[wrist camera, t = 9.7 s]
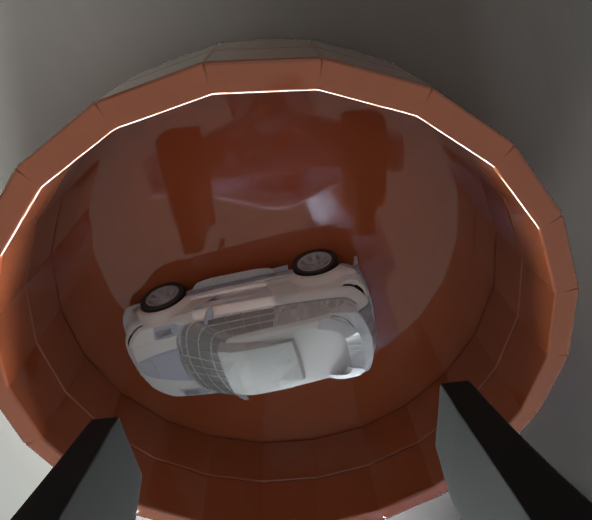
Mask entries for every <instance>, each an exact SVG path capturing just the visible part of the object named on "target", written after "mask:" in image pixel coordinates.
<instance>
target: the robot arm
mask: <svg viewBox="0 0 592 520" xmlns="http://www.w3.org/2000/svg"><path fill="white" fill-rule="evenodd" d="M435 446H436V449H437V453H438V456H439V460H440V464H441V467H442V471H443V474H444V478H445V481H446V484H447V488H448V491H449V494H450V496H451V499H452V501H453V504H454V506H455V509H456V511H457V514H458V516H459V519H460V520H592V503H591V502H590V501H589V500H588V499H587V498H586V497H585V496H584V495H582V494H581V493H580V492H579V491H578V490H577V489H576V488H575V487H574V486H572V485H571V484H570V483H569V482H568V481H567V480H566V479H565V478H564V477H563V476H562V475H560V474H559V473H558V472H557V471H556V470H555V469H554V468H553V467H552V466H551V465H550V464H549V463H548V462H547V461H546V460H545V459H544V458H543V457H542V456H541V455H540V454H539V453H538V452H537V451H536V450H535V449H534V448H533V447H531V446H530V445H529V444H528V443H527V442H526V441H525V440H524V439H523V438H522V437H521V436H520V434H519V433H518V432H517V431H516V430H515V429H514V428H513V427H512V426H511V425H510V424H509V423H508V422H507V421H506V420H505V419H504V418H503V417H502V416H501V415H500V414H499V413H498V412H497V410H496V409H495V408H494V407H493V406H492V405H491V404H490V403H489V402H488V401H487V400H486V399H485V397H484V396H483V395H482V394H481V393H480V392H479V391H478V390H477V389H476V388H475V386H474V385H473V384H472V383H470V382H469V381H468V380H467V381H457V382H447V383H440V394H439V406H438V418H437V430H436V441H435ZM141 480H142V473H141V471H140V468H139V466H138V463H137V461H136V458H135V456H134V453H133V451H132V448H131V446H130V444H129V441H128V439H127V436H126V434H125V431H124V429H123V426H122V424H121V421H120V419H119V417H111V418H101V419H92V420H91V421H90V422H89V423H88V424H87V426H86V427H85V428H84V429H83V431H82V432H81V433H80V434H79V436H78V437H77V438H76V439H75V441H74V442H73V443H72V444H71V446H70V447H69V448H68V449H67V451H66V452H65V453H64V454H63V456H62V457H61V458H60V460H59V461H58V462H57V463H56V465H55V466H54V467H53V468H52V470H51V471H50V472H49V473H48V475H47V476H46V477H45V478H44V480H43V481H42V482H41V483H40V485H39V486H38V487H37V488H36V489H35V491H34V492H33V493H32V494H31V495H30V497H29V498H28V499H27V500H26V502H25V503H24V504H23V505H22V506H21V508H20V509H19V510H18V511H17V513H16V514H15V515H14V516H13V517H12V518H11V520H135V519H136V513H137V507H138V501H139V494H140V487H141Z"/></svg>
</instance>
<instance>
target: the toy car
mask: <svg viewBox="0 0 592 520" xmlns="http://www.w3.org/2000/svg"><path fill="white" fill-rule="evenodd" d="M370 294H371V292H370V289H369V287H368V286H367V283H366V280H365V278H364V276H363V274H362V272H361V270H360V269H359V263H358V260H357V256H354V262H353V265H349V264H346V263H340V264H339V263H338V258H337V255H336V254H335V253H334V252H333V251H331V250H327V249H316V250H311V251H308V252H305V253H303V254H301V255H299V256H298V257H297V258H296V259H295V260H294V261H293V263H292V269H290V270H289V269H288V266H287V265H285V266H281V267H277V268H273V269H270V268H260V269H252V270H247V271H242V272H237V273H232V274H228V275H223V276H218V277H213V278H209V279H206V280H203V281H200V282H198V283H196V284H195V286H194V288H193V289H192V290H189V291H186V290H185V288H184V286H183V285H182V284H180V283H175V282H173V283H166V284H162V285H160V286H157V287H155V288H153V289H152V290H150V291H149V292H147V293H146V294H145V295H144V296H143V298H142V299H141V302H140V303H139V304H135V305H133V306H130V307H129V308H127V309H126V311H125V312H124V315H123V326H124V330H125V333H126V339H125V342H126V347H127V350H128V354H129V355H130V357H131V359H132V361H133V363H134V365H135V366H136V369H137V370H138V371H139V373H140V375H141V376H143V378H144V379H145V380H146V381H147V382H148V383H149V384H150V385H151V386H152V387H153V388H155V389H156V390H158V391H160V392H163V393H165V394H168V395H171V396H194V395H204V394H213V393H223V394H234V395H238V396H239V397H240V398H242V399H244V400H249V398H248V396H247V395H258V394H263V393H269V392H274V391H279V390H284V389H288V388H293V387H295V386H299V385H303V384H307V383H311V382H315V381H319V380H322V379H326V378H336V379H346V378H351V377H356V376H359V375H361V374H362V373H364V372H366V371H368V370H369V369H370V368H371V365H372V361H373V355H374V351H375V348H376V338H377V337H376V331H375V320H376V319H375V316H374V311H375V310H374V308H373V303H372V299H373V298H372V299H371V295H370ZM348 372H349V373H348ZM345 373H348V374H345ZM340 374H341V375H340Z"/></svg>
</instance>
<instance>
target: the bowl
mask: <svg viewBox="0 0 592 520" xmlns="http://www.w3.org/2000/svg"><path fill="white" fill-rule="evenodd" d="M316 249H327V250H331V251H333V252H334V253H335V254H336V255H337V258H338V263H339V264H340V263H346V264H349V265H353V262H354V256H357V260H358V263H359V269H360V270H361V272H362V274H363V276H364V278H365V280H366V283H367V286H368V287H369V289H370V292H371V294H370V295H371V299H372V298H373V299H372V303H373V308H374V310H375V311H374V316H375V319H376V320H375V331H376V337H377V338H376V348H375V351H374V355H373V361H372V365H371V368H370V369H369V370H368V371H366V372H364V373H362V374H361V375H359V376H356V377H351V378H346V379H336V378H326V379H322V380H319V381H315V382H311V383H307V384H303V385H299V386H295V387H293V388H288V389H284V390H279V391H274V392H269V393H263V394H258V395H247V396H248V398H249V400H244V399H242V398H240V397H239V396H238V395H234V394H223V393H213V394H204V395H194V396H171V395H168V394H165V393H163V392H160V391H158V390H156V389H155V388H153V387H152V386H151V385H150V384H149V383H148V382H147V381H146V380H145V379H144V378H143V376H141V375H140V373H139V371H138V370H137V369H136V366H135V365H134V363H133V361H132V359H131V357H130V355H129V354H128V350H127V347H126V342H125V339H126V333H125V330H124V326H123V315H124V312H125V311H126V309H127V308H129V307H130V306H133V305H135V304H139V303H140V302H141V299H142V298H143V296H144V295H145V294H146V293H147V292H149V291H150V290H152V289H153V288H155V287H157V286H160V285H162V284H166V283H173V282H175V283H180V284H182V285H183V286H184V288H185V290H186V291H189V290H192V289H193V288H194V286H195V284H196V283H198V282H200V281H203V280H206V279H209V278H213V277H218V276H223V275H228V274H232V273H237V272H242V271H247V270H252V269H260V268H270V269H273V268H277V267H281V266H285V265H287V266H288V269H289V270H290V269H292V263H293V261H294V260H295V259H296V258H297V257H298V256H299V255H301V254H303V253H305V252H308V251H311V250H316ZM578 292H579V289H578V281H577V277H576V272H575V268H574V263H573V258H572V254H571V249H570V245H569V240H568V236H567V231H566V227H565V222H564V218H563V216H562V213H561V211H560V209H559V208H558V206H557V205H556V203H555V202H554V200H553V199H552V198H551V196H550V195H549V193H548V192H547V190H546V189H545V187H544V186H543V184H542V183H541V182H540V180H539V179H538V177H537V176H536V174H535V173H534V171H533V170H532V169H531V167H530V166H529V164H528V163H527V161H526V160H525V158H524V157H523V155H522V154H521V153H520V151H519V150H518V148H517V147H516V146H515V145H514V144H513V142H511V141H510V140H509V139H507V138H506V137H504V136H503V135H501V134H500V133H498V132H497V131H495V130H494V129H493V128H491V127H490V126H488V125H487V124H485V123H484V122H482V121H481V120H479V119H478V118H477V117H475V116H474V115H472V114H471V113H469V112H468V111H466V110H465V109H464V108H462V107H461V106H459V105H458V104H456V103H455V102H453V101H452V100H450V99H449V98H448V97H446V96H445V95H443V94H442V93H440V92H439V91H437V90H436V89H434V88H433V87H431V86H430V85H428V84H426V83H425V82H423V81H421V80H420V79H418V78H416V77H415V76H413V75H411V74H410V73H408V72H406V71H405V70H403V69H402V68H400V67H398V66H397V65H395V64H392V63H391V62H388V61H385V60H381V59H378V58H374V57H371V56H368V55H366V54H363V53H359V52H356V51H352V50H349V49H345V48H341V47H338V46H334V45H330V44H326V43H321V42H318V41H314V40H307V39H297V40H294V39H263V40H246V41H240V42H222V43H220V44H214V45H212V46H209V47H206V48H204V49H201V50H198V51H195V52H192V53H189V54H186V55H183V56H179V57H176V58H174V59H172V60H170V61H168V62H166V63H163V64H161V65H158V66H155V67H153V68H150V69H147V70H145V71H142V72H140V73H138V74H136V75H135V76H133V77H131V78H130V79H128V80H127V81H125V82H124V83H122V84H121V85H119V86H118V87H116V88H115V89H113V90H111V91H110V92H108V93H107V94H105V95H104V96H102V97H101V98H99V99H98V100H96V101H95V102H93V103H92V104H91V105H89V106H88V107H87V108H86V109H84V110H83V111H82V112H81V113H80V114H78V115H77V116H76V117H75V118H74V119H72V120H71V121H70V122H69V123H68V124H66V125H65V126H64V127H63V128H62V129H60V130H59V131H58V132H57V133H56V134H54V135H53V136H52V137H51V138H50V139H48V140H47V141H46V142H45V143H44V144H42V145H41V146H40V147H39V148H37V149H36V150H35V151H34V152H33V153H31V154H30V155H29V156H28V157H27V158H25V159H24V160H23V161H22V162H21V163H19V164H18V165H17V168H15V169H14V171H13V173H12V175H11V177H10V178H9V180H8V182H7V184H6V186H5V188H4V189H3V191H2V193H1V195H0V410H1V411H2V412H3V414H4V415H5V417H6V418H7V420H8V421H9V422H10V424H11V425H12V427H13V428H14V429H15V431H16V432H17V434H18V435H19V437H20V438H21V439H22V441H23V442H24V443H26V445H27V446H28V447H29V448H31V449H32V450H33V451H34V452H35V453H37V454H38V455H39V456H40V457H42V458H43V459H44V460H45V461H46V462H48V463H49V464H50V465H51V466H53V467H54V466H55V465H56V463H57V462H58V461H59V460H60V458H61V457H62V456H63V454H64V453H65V452H66V451H67V449H68V448H69V447H70V446H71V444H72V443H73V442H74V441H75V439H76V438H77V437H78V436H79V434H80V433H81V432H82V431H83V429H84V428H85V427H86V426H87V424H88V423H89V422H90V421H91V420H92V419H101V418H111V417H119V419H120V421H121V424H122V426H123V429H124V431H125V434H126V436H127V439H128V441H129V444H130V446H131V448H132V451H133V453H134V456H135V458H136V461H137V463H138V466H139V468H140V471H141V473H142V480H141V487H140V494H139V501H138V507H137V513H136V515H137V516H141V517H144V518H148V519H151V520H384V519H387V518H390V517H392V516H394V515H397V514H399V513H401V512H404V511H406V510H408V509H411V508H413V507H415V506H418V505H420V504H422V503H425V502H427V501H429V500H432V499H434V498H436V497H439V496H441V495H442V493H443V494H444V493H446V492H448V488H447V484H446V481H445V478H444V474H443V471H442V467H441V464H440V460H439V456H438V453H437V449H436V446H435V441H436V430H437V418H438V406H439V394H440V383H447V382H457V381H467V380H468V381H469V382H470V383H472V384H473V385H474V386H475V388H476V389H477V390H478V391H479V392H480V393H481V394H482V395H483V396H484V397H485V399H486V400H487V401H488V402H489V403H490V404H491V405H492V406H493V407H494V408H495V409H496V410H497V412H498V413H499V414H500V415H501V416H502V417H503V418H504V419H505V420H506V421H507V422H508V423H509V424H510V425H511V426H512V427H513V428H514V429H515V430H516V431H517V432H518V433H520V432H521V431H522V430H523V429H524V427H525V426H526V425H527V424H528V423H529V422H530V421H531V420H532V419H533V418H534V417H535V416H536V414H537V413H538V412H539V411H540V409H541V407H542V405H543V404H544V402H545V400H546V398H547V396H548V394H549V392H550V390H551V388H552V386H553V384H554V382H555V380H556V378H557V376H558V375H559V373H560V371H561V369H562V367H563V365H564V363H565V361H566V359H567V357H568V354H569V350H570V343H571V337H572V330H573V324H574V317H575V311H576V304H577V298H578ZM348 373H349V372H348ZM348 373H345V374H348ZM340 375H341V374H340Z"/></svg>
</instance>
